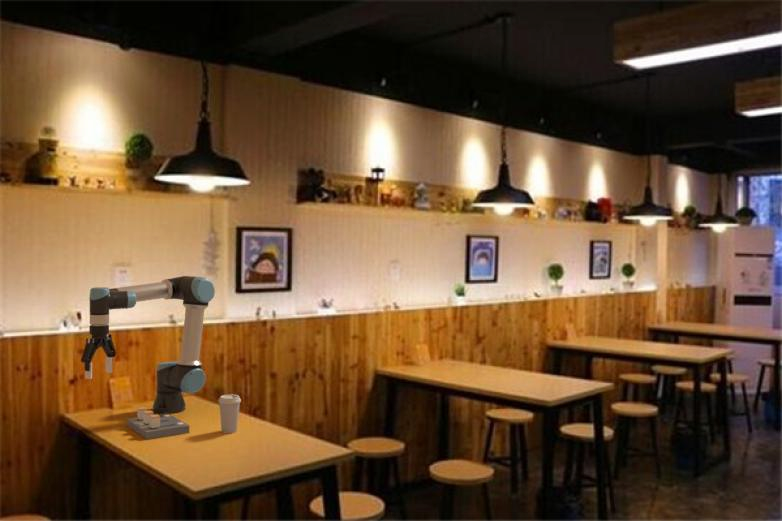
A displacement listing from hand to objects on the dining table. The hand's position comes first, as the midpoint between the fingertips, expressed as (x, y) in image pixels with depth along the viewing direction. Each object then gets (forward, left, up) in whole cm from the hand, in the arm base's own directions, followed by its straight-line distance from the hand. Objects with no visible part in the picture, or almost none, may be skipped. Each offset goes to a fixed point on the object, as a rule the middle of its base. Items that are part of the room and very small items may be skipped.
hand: (98, 375), depth 286 cm
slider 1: (-19, -3, -21) cm, 29 cm away
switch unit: (-23, +5, -25) cm, 34 cm away
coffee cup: (-47, +25, -25) cm, 59 cm away
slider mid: (-19, +5, -21) cm, 29 cm away
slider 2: (-19, +13, -21) cm, 31 cm away
